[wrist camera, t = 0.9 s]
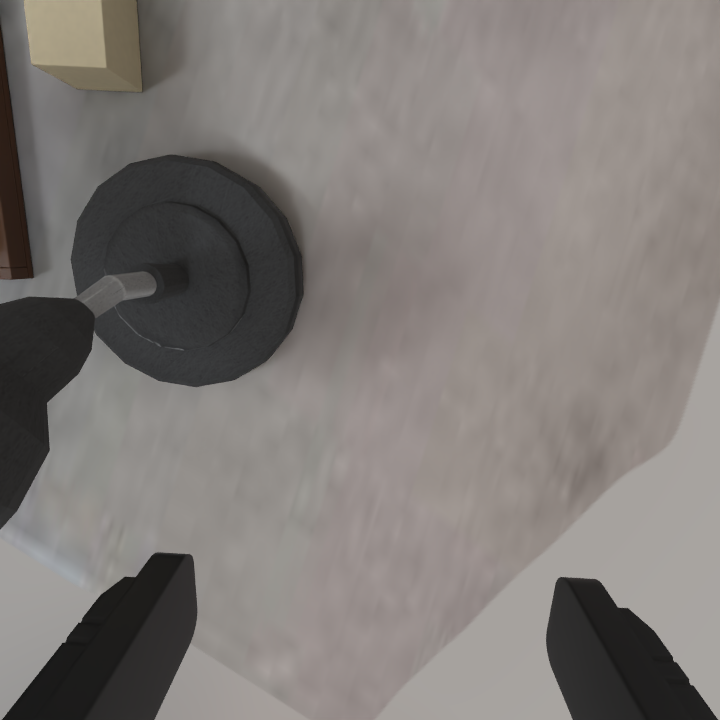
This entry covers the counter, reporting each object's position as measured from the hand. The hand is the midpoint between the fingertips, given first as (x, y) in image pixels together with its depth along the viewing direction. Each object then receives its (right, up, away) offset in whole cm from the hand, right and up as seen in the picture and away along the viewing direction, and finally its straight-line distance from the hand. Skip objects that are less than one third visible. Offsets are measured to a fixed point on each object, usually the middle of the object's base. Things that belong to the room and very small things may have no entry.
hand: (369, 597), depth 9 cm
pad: (-17, +27, +18) cm, 37 cm away
